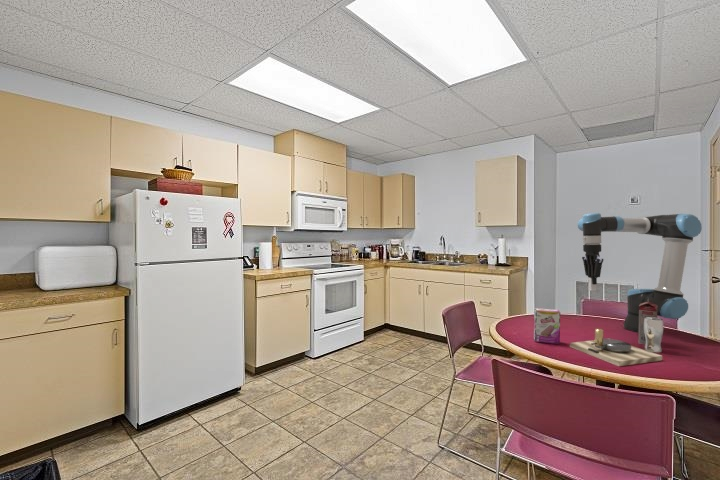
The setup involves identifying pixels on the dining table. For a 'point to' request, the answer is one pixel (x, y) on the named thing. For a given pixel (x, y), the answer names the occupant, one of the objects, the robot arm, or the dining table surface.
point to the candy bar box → (547, 326)
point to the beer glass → (653, 334)
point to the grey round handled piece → (610, 343)
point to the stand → (617, 354)
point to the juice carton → (645, 311)
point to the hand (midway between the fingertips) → (592, 290)
